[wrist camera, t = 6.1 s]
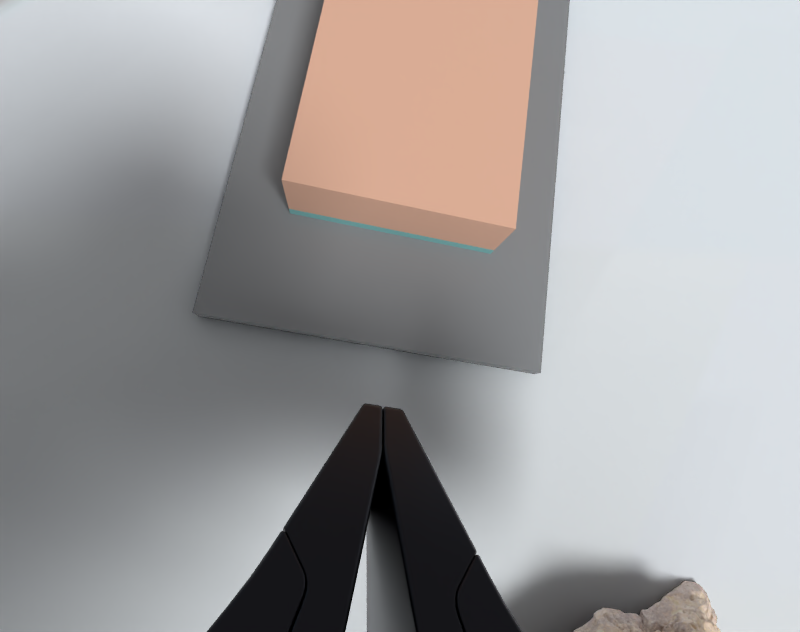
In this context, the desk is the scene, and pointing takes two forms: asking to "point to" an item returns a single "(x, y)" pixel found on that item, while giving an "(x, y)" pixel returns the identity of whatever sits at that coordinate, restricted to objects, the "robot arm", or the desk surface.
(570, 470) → the desk surface
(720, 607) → the desk surface
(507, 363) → the mat
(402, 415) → the robot arm
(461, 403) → the desk surface
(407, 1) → the tile
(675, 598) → the rock
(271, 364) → the desk surface
